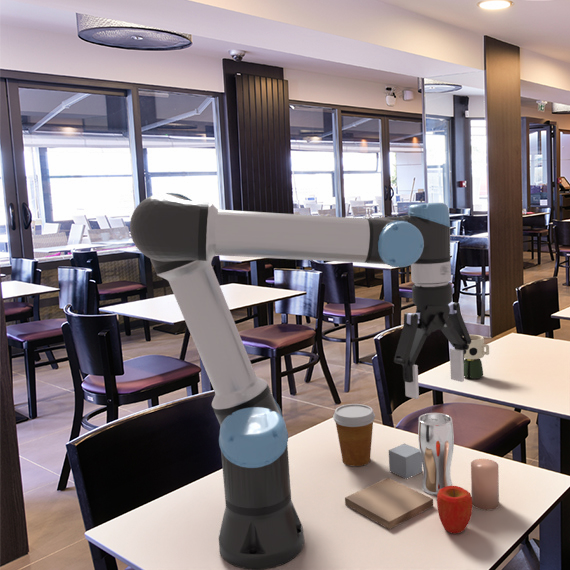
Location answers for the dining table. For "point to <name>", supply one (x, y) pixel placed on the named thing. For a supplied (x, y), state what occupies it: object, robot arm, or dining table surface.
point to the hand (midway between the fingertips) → (435, 388)
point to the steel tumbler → (436, 450)
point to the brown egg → (485, 484)
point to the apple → (454, 508)
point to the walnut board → (389, 502)
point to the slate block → (405, 460)
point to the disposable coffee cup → (354, 433)
